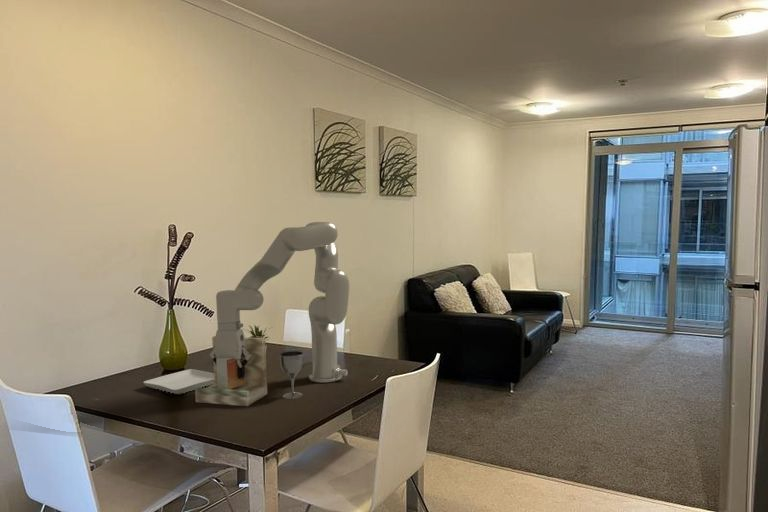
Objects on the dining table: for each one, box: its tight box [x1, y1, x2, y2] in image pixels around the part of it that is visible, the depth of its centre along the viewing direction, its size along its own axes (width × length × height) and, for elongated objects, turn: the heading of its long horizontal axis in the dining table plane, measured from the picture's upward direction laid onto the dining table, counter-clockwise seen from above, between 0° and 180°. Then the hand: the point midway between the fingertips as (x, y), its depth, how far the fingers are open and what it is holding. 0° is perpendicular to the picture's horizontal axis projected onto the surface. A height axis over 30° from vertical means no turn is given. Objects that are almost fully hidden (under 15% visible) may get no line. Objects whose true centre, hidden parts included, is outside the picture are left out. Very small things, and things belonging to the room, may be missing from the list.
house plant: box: [241, 324, 273, 353], centre depth 243 cm, size 14×14×16 cm
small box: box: [216, 356, 246, 390], centre depth 190 cm, size 8×6×10 cm
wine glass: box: [279, 350, 304, 400], centre depth 191 cm, size 8×8×15 cm
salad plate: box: [142, 368, 214, 395], centre depth 207 cm, size 21×21×3 cm
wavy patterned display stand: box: [194, 335, 268, 407], centre depth 190 cm, size 20×13×20 cm, turn 73°
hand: (231, 376), depth 191 cm, fingers closed on small box, 7 cm apart
